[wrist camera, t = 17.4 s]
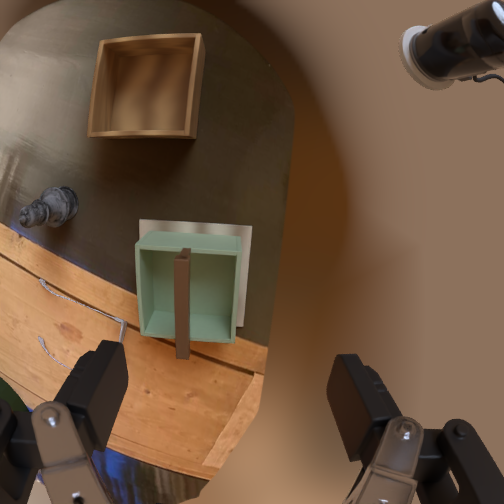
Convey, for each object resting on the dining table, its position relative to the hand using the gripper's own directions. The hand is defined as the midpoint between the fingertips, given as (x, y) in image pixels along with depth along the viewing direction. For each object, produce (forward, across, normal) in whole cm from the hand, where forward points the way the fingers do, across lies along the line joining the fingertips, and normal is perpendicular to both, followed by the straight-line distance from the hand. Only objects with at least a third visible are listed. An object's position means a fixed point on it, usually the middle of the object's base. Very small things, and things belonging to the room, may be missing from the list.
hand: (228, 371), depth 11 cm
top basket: (+33, +5, +10) cm, 34 cm away
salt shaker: (+33, +26, 0) cm, 42 cm away
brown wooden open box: (+33, +12, -16) cm, 39 cm away
